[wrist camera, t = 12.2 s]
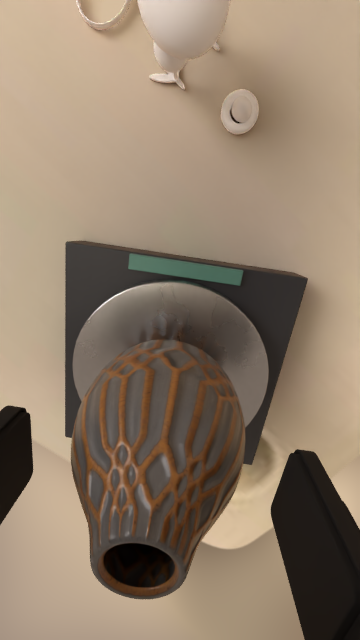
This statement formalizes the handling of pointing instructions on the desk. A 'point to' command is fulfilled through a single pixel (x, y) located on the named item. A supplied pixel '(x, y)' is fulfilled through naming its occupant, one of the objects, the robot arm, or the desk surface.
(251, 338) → the scale pan
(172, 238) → the desk surface
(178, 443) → the vase
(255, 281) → the scale
